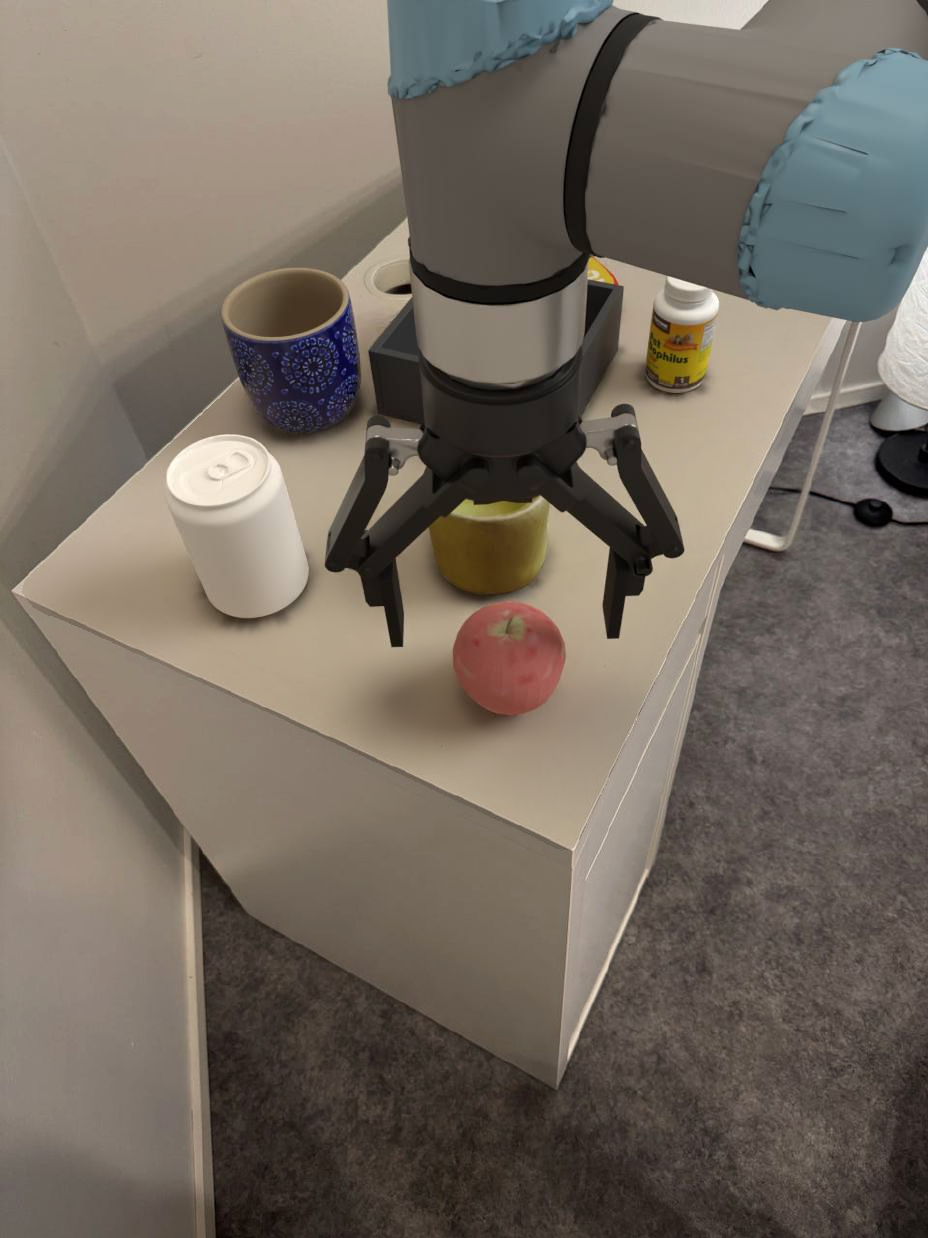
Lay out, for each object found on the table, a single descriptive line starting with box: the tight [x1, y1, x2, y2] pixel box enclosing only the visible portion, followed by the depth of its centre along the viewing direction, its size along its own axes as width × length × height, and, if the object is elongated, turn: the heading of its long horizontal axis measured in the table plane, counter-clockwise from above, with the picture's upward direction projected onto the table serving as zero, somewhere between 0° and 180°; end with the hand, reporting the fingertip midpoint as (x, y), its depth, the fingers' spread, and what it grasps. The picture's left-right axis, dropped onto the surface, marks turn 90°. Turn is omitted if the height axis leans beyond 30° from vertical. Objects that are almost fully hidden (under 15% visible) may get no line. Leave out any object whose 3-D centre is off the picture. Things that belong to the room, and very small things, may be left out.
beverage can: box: [164, 433, 310, 619], centre depth 66 cm, size 8×8×12 cm
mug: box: [427, 495, 551, 596], centre depth 69 cm, size 12×10×10 cm
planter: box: [220, 267, 363, 434], centre depth 79 cm, size 11×11×11 cm
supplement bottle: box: [644, 275, 720, 394], centre depth 80 cm, size 6×6×10 cm
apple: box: [452, 600, 567, 716], centre depth 60 cm, size 7×7×8 cm
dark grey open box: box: [367, 279, 625, 425], centre depth 82 cm, size 18×17×7 cm
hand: (503, 626), depth 58 cm, fingers open, 13 cm apart
